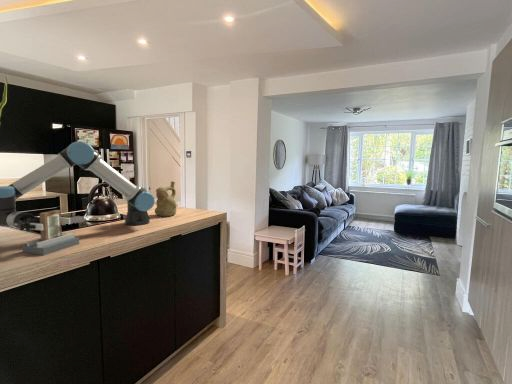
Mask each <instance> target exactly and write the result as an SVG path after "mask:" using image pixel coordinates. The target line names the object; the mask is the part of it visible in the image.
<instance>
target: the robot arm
mask: <svg viewBox="0 0 512 384" xmlns="http://www.w3.org/2000/svg"><path fill="white" fill-rule="evenodd" d="M76 165H77V166H79V167H80V168H82V170H84V171H90V172H91V173H93V174H94V175H95V176H96V177H98V178H100V180H102V181H103V182H105V183H106V184H107V185H109V186H110V187H112V189H115V190H116V191H117V192H118V193H120V194H121V195H122V196H124V198H125V201H126V203H127V205H126V206H127V212H126V216H125V219H124V224H125V225H128V226H140V225H146V224H150V221H151V220H150V219H151V218H150V216H149V213H148V211H150V210H152V208H153V207H154V205H155V204H156V203H155V200H156V199H155V196H154V195H153V194H152V193H151V192H149V191H147V188H146V187H142V186H141V185H135V184H134V183H132V181H130V180H129V179H128V178H126V177H125V176H123V175H122V174H121V173H120V172H119V171H117V170H116V169H115V168H113V167H112V166H111V165H110V164H109V163H107V162H106V161H105V160H104V159H102V157H101V154H100V153H99V152H98V151H97V150H95V149H94V148H93V146H91V144H89V143H88V142H85V141H80V140H79V141H74V142H71V143H70V144H69V145H68V146H67V147H66V148H64V149H63V150H62V151H60V152H59V153H58V154H57V156H55V157H54V158H53V159H50V160H49V161H48V162H46V163H44V164H42V165H40V166H39V167H37V168H36V169H33V171H31V172H29V173H27V174H25V175H23V176H22V177H20V178H19V179H17V180H16V181H14V182H12V183H11V184H9V185H6V186H5V185H2V186H1V185H0V227H3V228H4V227H5V228H6V227H7V228H15V229H16V230H18V229H19V230H20V231H24V230H25V231H26V232H30V231H31V230H35V231H40V232H41V231H42V230H43V224H40V216H35V215H34V214H33V213H30V212H23V211H22V212H21V211H17V207H16V205H17V204H16V200H18V199H20V197H22V196H23V195H25V194H27V193H29V192H30V191H31V190H34V189H35V188H36V187H37V188H38V186H40V185H41V184H43V183H45V182H47V181H48V180H49V179H51V178H53V177H56V175H58V174H59V173H61V172H63V171H64V170H66V169H67V168H73V167H74V166H76ZM61 223H64V224H68V225H72V224H71V221H70V218H69V217H64V216H63V215H61Z"/></svg>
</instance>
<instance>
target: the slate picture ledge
mask: <svg viewBox="0 0 512 384" xmlns="http://www.w3.org/2000/svg"><path fill="white" fill-rule="evenodd" d="M79 244H80V237H76V236H75V233H74V232H73V233H67V234H66V232H65V231H62V236H60V237H57V238H53V239H49V240H46V241H42V242H41V237H40V238H39V237H38V238H36V239H32V240H28V241H26V244H24V245H22V253H27V254H32V255H33V254H34V255H42V256H46V255H49V254H52V253H55V252H58V251H61V250H64V249H67V248H70V247H73V246H77V245H79Z"/></svg>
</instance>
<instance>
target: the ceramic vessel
mask: <svg viewBox="0 0 512 384" xmlns="http://www.w3.org/2000/svg"><path fill="white" fill-rule="evenodd" d="M175 183H176V181H173V180H172V181H170V186H166V187H163V186H161V187H158V188H156V190H155V192H156V198H157V199H156V203H155V204H156V208H155V209H154V213H155V215H156V216H158V215H159V217H166V216H167V217H171V216H172V215H173V216H175V215H176V214H177V207H178V206H177V202H176V200H175V197H176V194H177V193H176V189H175V185H176V184H175ZM168 191H171V195H170V194H169V192H168ZM173 216H172V217H173Z"/></svg>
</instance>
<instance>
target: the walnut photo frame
mask: <svg viewBox="0 0 512 384" xmlns="http://www.w3.org/2000/svg"><path fill="white" fill-rule="evenodd" d="M61 216H62V211H61V210H60V209H54V210H49V211H44V212H40V213H39V217H40V224H43V230H42V231H41V230H40V238H41V242H42V241H46V240H49V239H53V238H57V237H60V236H62V232H63V231H62V226H61Z"/></svg>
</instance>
